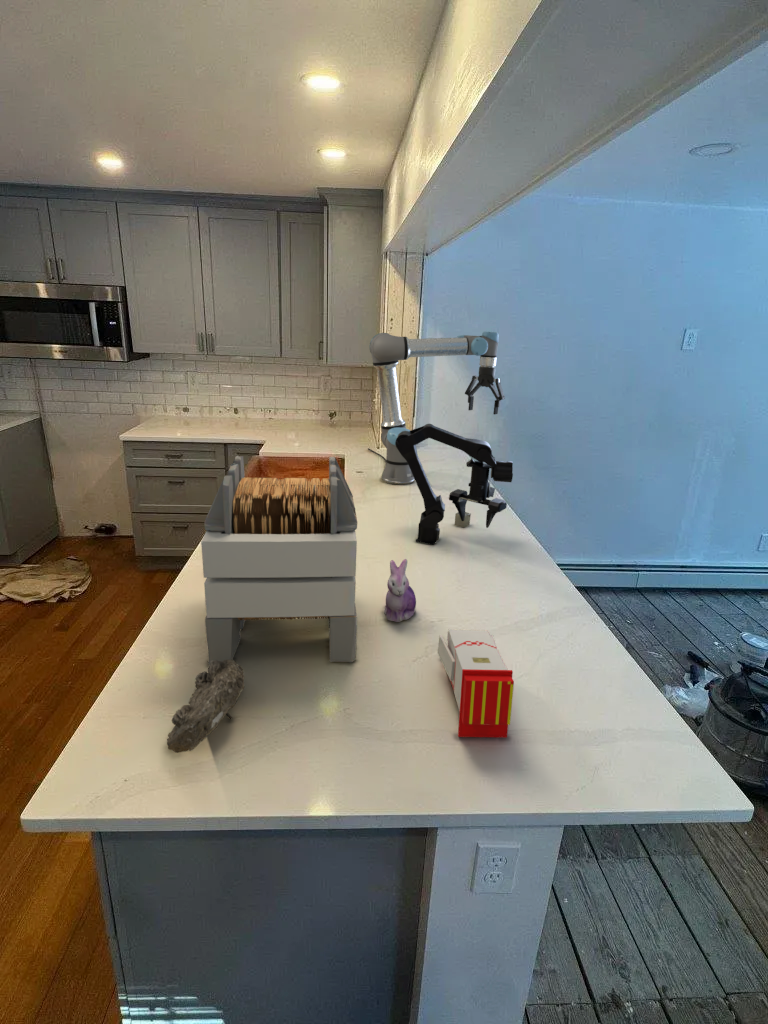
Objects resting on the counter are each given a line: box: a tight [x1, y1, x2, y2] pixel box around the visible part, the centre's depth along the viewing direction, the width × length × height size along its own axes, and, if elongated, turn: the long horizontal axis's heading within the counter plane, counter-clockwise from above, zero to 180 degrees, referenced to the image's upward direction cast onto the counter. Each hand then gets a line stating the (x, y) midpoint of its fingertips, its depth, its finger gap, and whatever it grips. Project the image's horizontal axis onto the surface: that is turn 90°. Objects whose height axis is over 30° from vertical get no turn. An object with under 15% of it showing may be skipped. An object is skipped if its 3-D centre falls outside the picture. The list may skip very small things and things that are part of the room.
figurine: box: [384, 558, 417, 623], centre depth 145 cm, size 9×10×15 cm
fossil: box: [166, 659, 245, 754], centre depth 106 cm, size 22×10×15 cm
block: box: [454, 511, 472, 529], centre depth 210 cm, size 4×4×5 cm
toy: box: [437, 628, 515, 738], centre depth 117 cm, size 12×13×30 cm
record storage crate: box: [200, 455, 358, 666], centre depth 133 cm, size 34×33×41 cm
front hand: (475, 524), depth 191 cm, fingers open, 9 cm apart
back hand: (482, 412), depth 271 cm, fingers open, 13 cm apart
